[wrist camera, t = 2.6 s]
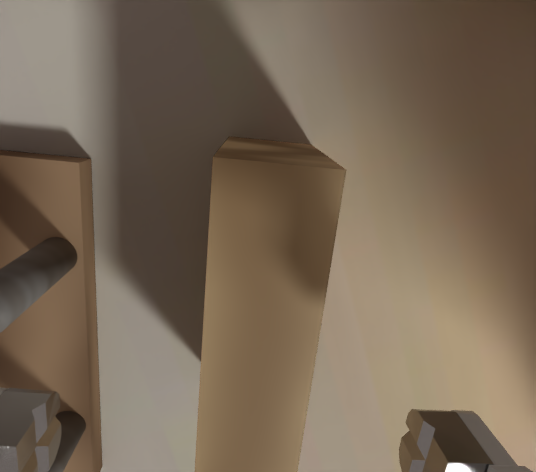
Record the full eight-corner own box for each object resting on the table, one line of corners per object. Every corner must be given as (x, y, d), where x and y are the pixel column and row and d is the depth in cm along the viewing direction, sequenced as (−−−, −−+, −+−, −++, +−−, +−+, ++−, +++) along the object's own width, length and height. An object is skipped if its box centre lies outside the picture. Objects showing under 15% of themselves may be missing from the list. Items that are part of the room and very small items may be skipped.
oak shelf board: (311, 144, 17) (346, 169, 10) (280, 377, 21) (291, 505, 14) (229, 136, 17) (212, 157, 10) (213, 373, 21) (193, 500, 14)
